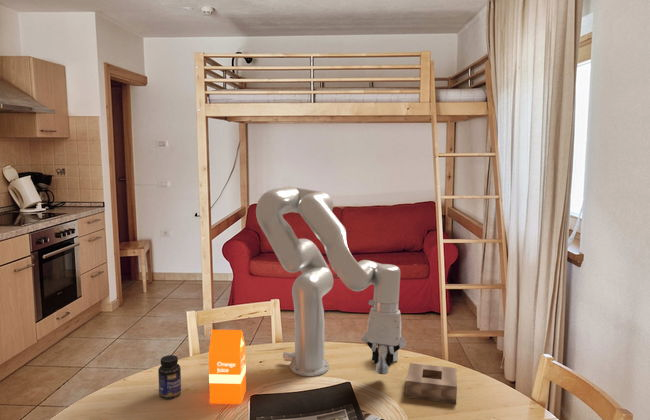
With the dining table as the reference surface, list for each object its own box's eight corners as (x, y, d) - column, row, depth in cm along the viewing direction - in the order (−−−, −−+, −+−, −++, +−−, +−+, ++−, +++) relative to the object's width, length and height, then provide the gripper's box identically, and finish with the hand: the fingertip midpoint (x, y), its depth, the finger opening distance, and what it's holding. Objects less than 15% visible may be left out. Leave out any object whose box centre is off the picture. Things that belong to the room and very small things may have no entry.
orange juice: (216, 390, 145) (214, 324, 142) (246, 390, 144) (245, 325, 142) (209, 403, 137) (207, 334, 134) (241, 404, 137) (239, 335, 134)
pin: (375, 373, 149) (377, 338, 148) (377, 368, 153) (378, 334, 151) (387, 375, 148) (389, 340, 147) (388, 370, 152) (390, 336, 150)
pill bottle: (169, 402, 138) (167, 364, 136) (154, 396, 141) (153, 359, 139) (185, 393, 143) (184, 356, 141) (171, 387, 146) (170, 352, 145)
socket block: (405, 397, 141) (406, 380, 140) (409, 378, 152) (409, 363, 152) (456, 403, 137) (456, 386, 137) (455, 383, 149) (456, 368, 148)
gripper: (356, 306, 146) (353, 364, 148) (412, 313, 142) (408, 373, 144) (360, 298, 153) (358, 354, 156) (414, 305, 149) (410, 362, 152)
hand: (382, 363), depth 150 cm, fingers closed on pin, 3 cm apart
